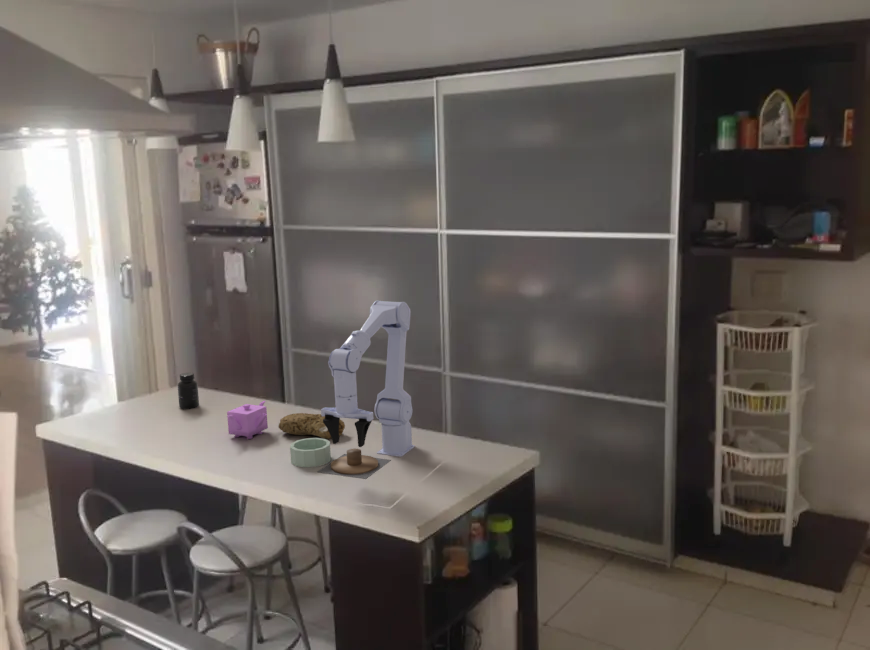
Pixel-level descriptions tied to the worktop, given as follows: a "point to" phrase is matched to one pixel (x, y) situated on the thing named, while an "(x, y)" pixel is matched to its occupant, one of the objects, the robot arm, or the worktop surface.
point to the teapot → (247, 420)
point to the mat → (328, 470)
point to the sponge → (307, 425)
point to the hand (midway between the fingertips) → (348, 444)
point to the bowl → (310, 452)
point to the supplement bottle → (188, 391)
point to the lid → (354, 463)
